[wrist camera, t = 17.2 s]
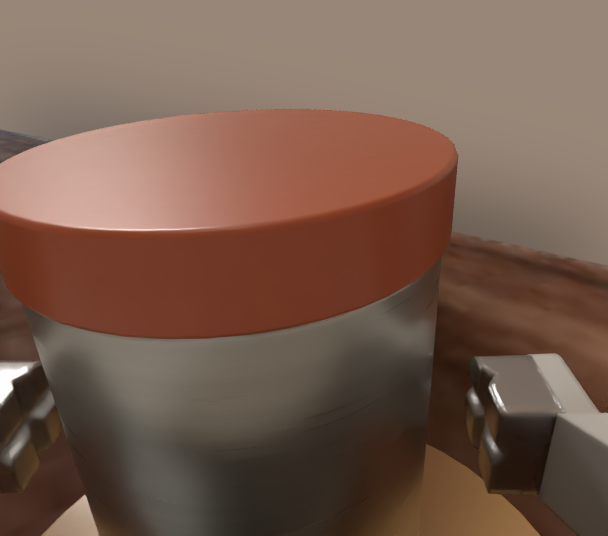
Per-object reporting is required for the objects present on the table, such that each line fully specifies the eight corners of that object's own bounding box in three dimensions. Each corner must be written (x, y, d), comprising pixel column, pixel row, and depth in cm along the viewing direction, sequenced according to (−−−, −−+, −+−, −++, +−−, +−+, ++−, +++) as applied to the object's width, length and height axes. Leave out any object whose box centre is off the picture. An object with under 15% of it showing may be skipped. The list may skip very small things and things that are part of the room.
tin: (90, 704, 11) (-138, 187, 6) (247, 493, 16) (195, 103, 11) (346, 908, 8) (330, 288, 3) (443, 582, 13) (500, 117, 8)
